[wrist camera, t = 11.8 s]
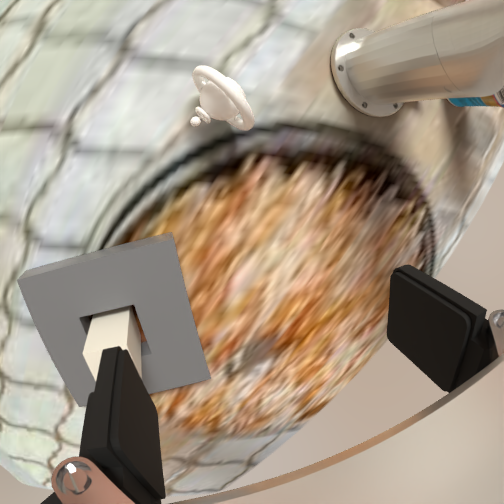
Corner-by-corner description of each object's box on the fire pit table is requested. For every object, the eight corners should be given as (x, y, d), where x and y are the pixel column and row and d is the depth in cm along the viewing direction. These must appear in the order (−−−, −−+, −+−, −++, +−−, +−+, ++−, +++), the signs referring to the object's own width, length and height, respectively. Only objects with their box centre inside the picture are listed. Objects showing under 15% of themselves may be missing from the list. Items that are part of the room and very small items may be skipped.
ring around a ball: (250, 121, 33) (278, 112, 25) (212, 155, 32) (230, 155, 25) (202, 68, 29) (217, 44, 22) (161, 102, 29) (164, 85, 22)
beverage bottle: (431, 59, 37) (536, 46, 19) (458, 61, 39) (552, 54, 20) (443, 108, 40) (550, 111, 22) (468, 106, 42) (563, 110, 23)
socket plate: (171, 232, 33) (173, 238, 31) (206, 364, 39) (211, 378, 37) (25, 270, 29) (16, 280, 26) (81, 392, 35) (79, 406, 32)
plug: (130, 302, 34) (126, 354, 25) (140, 335, 36) (142, 392, 26) (94, 310, 33) (80, 363, 23) (106, 342, 34) (99, 399, 25)
